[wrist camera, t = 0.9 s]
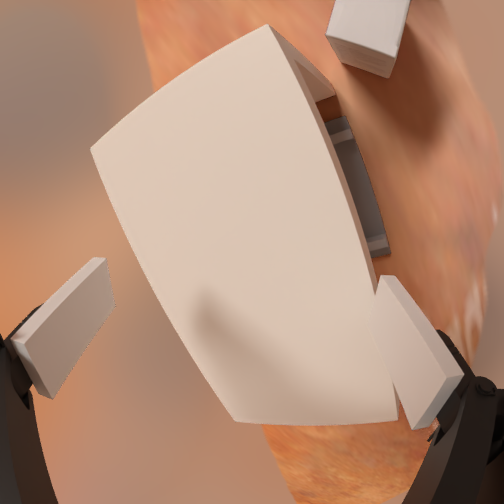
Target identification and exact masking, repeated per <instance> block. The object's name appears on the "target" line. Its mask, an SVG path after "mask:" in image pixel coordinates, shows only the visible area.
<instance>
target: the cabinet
mask: <svg viewBox="0 0 504 504" xmlns="http://www.w3.org/2000/svg"><path fill="white" fill-rule="evenodd" d="M334 95H336V93H335V91H334V89H333V87H332V85H331V83H330V81H329V80H328V79H327V78H326V77H325V76H324V75H323V74H322V73H321V72H320V71H319V70H318V69H317V68H316V67H315V66H314V65H313V64H312V63H311V62H310V61H309V60H308V59H307V58H306V57H305V56H304V55H302V54H301V53H300V52H299V51H298V50H297V49H296V48H295V47H294V46H293V45H292V44H291V43H289V42H288V41H287V40H286V39H285V38H284V37H283V36H281V35H280V34H279V33H278V32H277V31H276V30H274V29H273V28H272V27H271V26H270V25H269V24H266V25H264V26H262V27H260V28H258V29H256V30H254V31H252V32H250V33H248V34H246V35H244V36H243V37H241V38H239V39H237V40H235V41H233V42H232V43H230V44H228V45H226V46H225V47H223V48H221V49H219V50H218V51H216V52H214V53H213V54H211V55H209V56H208V57H206V58H205V59H203V60H201V61H200V62H198V63H197V64H195V65H194V66H192V67H191V68H189V69H188V70H186V71H185V72H183V73H182V74H180V75H179V76H177V77H176V78H175V79H173V80H172V81H170V82H169V83H167V84H166V85H165V86H163V87H162V88H161V89H159V90H158V91H157V92H155V93H154V94H153V95H151V96H150V97H149V98H147V99H146V100H145V101H144V102H142V103H141V104H140V105H139V106H137V107H136V108H135V109H134V110H133V111H131V112H130V113H129V114H128V115H127V116H125V117H124V118H123V119H122V120H121V121H119V123H117V124H116V125H115V126H114V127H113V128H112V129H111V130H109V131H108V132H107V133H106V134H105V135H104V136H103V137H102V138H101V139H100V140H99V141H98V142H96V143H95V144H94V145H93V146H92V147H91V148H90V150H91V153H92V156H93V158H94V161H95V164H96V166H97V169H98V171H99V174H100V176H101V179H102V181H103V184H104V186H105V188H106V191H107V193H108V196H109V198H110V201H111V203H112V205H113V208H114V210H115V212H116V215H117V217H118V219H119V221H120V224H121V226H122V228H123V230H124V232H125V234H126V237H127V239H128V241H129V243H130V245H131V247H132V249H133V251H134V253H135V255H136V257H137V259H138V261H139V263H140V265H141V267H142V269H143V271H144V273H145V275H146V277H147V279H148V281H149V283H150V285H151V287H152V289H153V290H154V292H155V294H156V296H157V298H158V300H159V301H160V303H161V305H162V307H163V309H164V311H165V312H166V314H167V316H168V318H169V319H170V321H171V323H172V325H173V326H174V328H175V330H176V331H177V333H178V335H179V336H180V338H181V340H182V342H183V343H184V345H185V346H186V348H187V350H188V351H189V353H190V355H191V356H192V358H193V360H194V361H195V363H196V364H197V366H198V367H199V369H200V370H201V372H202V374H203V375H204V377H205V378H206V380H207V381H208V383H209V384H210V386H211V387H212V389H213V390H214V392H215V393H216V395H217V396H218V398H219V399H220V401H221V402H222V404H223V405H224V406H225V408H226V409H227V411H228V412H229V413H230V415H231V416H232V418H233V419H234V420H235V421H236V422H246V423H258V424H274V425H349V424H365V423H377V422H387V421H396V420H398V415H399V400H400V398H399V396H398V393H397V391H396V388H395V386H394V383H393V381H392V379H391V376H390V374H389V371H388V369H387V367H386V364H385V362H384V360H383V357H382V355H381V353H380V351H379V348H378V346H377V344H376V342H375V339H374V337H373V335H372V333H371V331H370V328H369V326H368V324H367V323H368V319H369V316H370V313H371V309H372V306H373V302H374V299H375V295H376V291H377V287H378V283H377V279H376V275H375V271H374V267H373V264H372V260H371V258H374V257H378V256H382V255H387V254H391V251H390V247H389V243H388V239H387V235H386V232H385V228H384V225H383V221H382V218H381V214H380V211H379V207H378V204H377V201H376V198H375V194H374V191H373V188H372V185H371V182H370V179H369V176H368V173H367V171H366V168H365V165H364V162H363V159H362V157H361V154H360V151H359V148H358V146H357V143H356V141H355V138H354V136H353V133H352V131H351V128H350V126H349V123H348V121H347V118H346V116H342V117H340V118H337V119H334V120H331V121H328V122H326V123H324V122H323V120H322V118H321V115H320V113H319V111H318V109H317V106H316V104H315V102H318V101H320V100H323V99H326V98H328V97H331V96H334Z"/></svg>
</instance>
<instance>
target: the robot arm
mask: <svg viewBox="0 0 504 504" xmlns="http://www.w3.org/2000/svg"><path fill="white" fill-rule="evenodd" d="M115 307H116V306H115V301H114V297H113V291H112V286H111V281H110V275H109V270H108V264H107V259H106V258H97V257H94V258H92V259H91V260H90V261H89V262H88V263H87V264H86V265H84V266H83V267H82V268H81V269H80V270H79V271H78V272H77V273H76V274H75V275H73V276H72V278H70V279H69V280H68V281H67V282H66V283H65V284H64V285H63V286H62V287H61V288H60V289H59V290H57V291H56V292H55V293H54V294H53V295H52V296H51V297H50V298H49V299H48V300H47V301H46V302H45V303H43V304H42V305H40V306H38V307H37V308H35V309H34V310H33V311H32V312H31V313H30V314H29V315H28V316H27V317H26V318H25V319H24V320H23V321H22V323H20V324H19V325H18V326H17V327H16V328H15V329H14V330H13V331H12V332H11V333H10V334H9V335H8V337H7V338H6V339H5V340H3V338H2V336H1V334H0V504H58V501H57V499H56V496H55V493H54V490H53V487H52V484H51V480H50V477H49V474H48V470H47V466H46V463H45V459H44V455H43V452H42V447H41V443H40V438H39V433H38V428H37V423H36V417H35V411H34V404H33V397H32V394H31V391H30V390H29V388H30V387H31V386H32V384H33V385H34V386H35V388H36V390H37V392H38V393H39V394H40V395H43V396H45V397H48V398H51V399H54V397H55V395H56V394H57V392H58V391H59V389H60V388H61V386H62V384H63V382H64V381H65V380H66V378H67V377H68V375H69V373H70V372H71V370H72V369H73V367H74V366H75V364H76V363H77V361H78V360H79V358H80V357H81V355H82V354H83V352H84V351H85V349H86V348H87V346H88V345H89V343H90V342H91V341H92V339H93V338H94V336H95V335H96V333H97V332H98V331H99V329H100V328H101V326H102V325H103V323H104V322H105V320H106V319H107V318H108V316H109V315H110V313H111V312H112V311H113V309H114V308H115ZM367 324H368V326H369V328H370V331H371V333H372V335H373V337H374V339H375V342H376V344H377V346H378V348H379V351H380V353H381V355H382V357H383V360H384V362H385V364H386V367H387V369H388V371H389V374H390V376H391V379H392V381H393V383H394V386H395V388H396V391H397V393H398V396H399V398H400V401H401V403H402V406H403V408H404V411H405V414H406V416H407V419H408V421H409V424H410V427H411V430H416V429H421V428H425V427H429V426H430V424H431V423H432V422H433V420H434V419H435V418H436V417H437V419H438V421H439V424H440V425H439V426H438V427H437V429H436V430H435V431H434V432H433V434H432V435H431V436H430V437H429V439H428V440H427V441H428V442H430V440H431V439H432V438H433V439H432V442H431V444H430V447H429V449H428V451H427V454H426V456H425V458H424V461H423V463H422V465H421V467H420V469H419V471H418V474H417V476H416V478H415V480H414V482H413V484H412V486H411V488H410V490H409V492H408V493H407V495H406V497H405V499H404V501H403V502H402V504H504V389H497V388H496V386H495V384H494V383H493V382H492V381H490V380H489V379H487V378H485V377H481V376H478V377H475V375H474V374H473V372H472V370H471V369H470V367H469V366H468V364H467V363H466V361H465V360H464V358H463V357H462V355H461V354H459V351H458V349H457V348H456V347H454V344H453V342H452V341H451V339H450V338H449V337H448V336H447V335H446V334H445V333H443V332H442V331H441V330H435V329H434V328H433V326H432V325H431V323H430V322H429V320H428V319H427V318H426V316H425V315H424V313H423V312H422V311H421V309H420V308H419V307H418V305H417V304H416V303H415V301H414V300H413V299H412V297H411V296H410V295H409V293H408V292H407V291H406V289H405V288H404V287H403V285H402V284H401V283H400V282H399V280H398V279H397V278H396V276H394V275H381V276H380V280H379V284H378V287H377V291H376V295H375V299H374V302H373V306H372V309H371V313H370V316H369V319H368V323H367Z"/></svg>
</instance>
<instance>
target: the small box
mask: <svg viewBox="0 0 504 504" xmlns="http://www.w3.org/2000/svg"><path fill="white" fill-rule="evenodd" d="M410 2H411V0H335V2H334V6H333V9H332V13H331V16H330V20H329V23H328V27H327V30H326V33H325V36H326V38H327V39H328V41H329V43H330V44H331V46H332V48H333V50H334V51H335V53H336V55H337V57H338V59H339V60H340V62H342V63H345V64H348V65H351V66H354V67H357V68H359V69H362V70H365V71H368V72H371V73H373V74H376V75H379V76H381V77H384V78H387V79H389V77H390V74H391V72H392V69H393V67H394V64H395V61H396V59H397V55H398V50H399V46H400V42H401V38H402V35H403V31H404V27H405V23H406V19H407V15H408V10H409V6H410Z"/></svg>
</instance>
